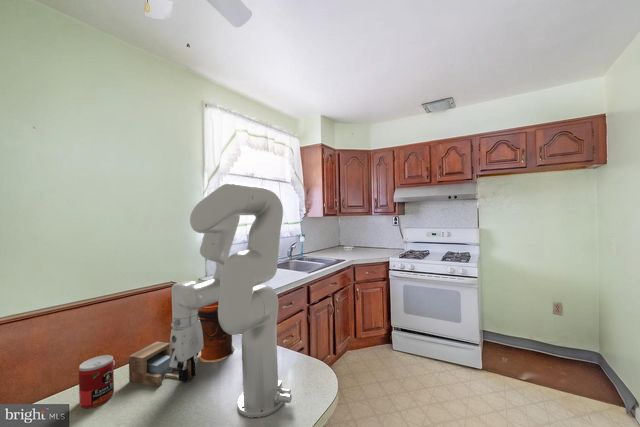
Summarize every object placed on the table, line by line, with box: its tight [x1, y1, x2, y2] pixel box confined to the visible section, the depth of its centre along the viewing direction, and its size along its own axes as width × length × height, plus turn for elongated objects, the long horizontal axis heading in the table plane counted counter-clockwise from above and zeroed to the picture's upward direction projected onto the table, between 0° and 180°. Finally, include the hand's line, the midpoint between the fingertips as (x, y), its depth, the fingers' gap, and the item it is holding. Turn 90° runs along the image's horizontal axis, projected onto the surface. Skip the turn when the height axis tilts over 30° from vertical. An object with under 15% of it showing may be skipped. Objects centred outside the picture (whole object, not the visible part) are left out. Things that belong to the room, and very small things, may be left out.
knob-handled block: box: [147, 355, 193, 382], centre depth 87 cm, size 16×6×6 cm, turn 74°
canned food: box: [78, 354, 115, 409], centre depth 77 cm, size 8×8×11 cm
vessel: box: [197, 302, 236, 363], centre depth 102 cm, size 14×14×20 cm
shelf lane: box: [128, 341, 182, 388], centre depth 88 cm, size 12×10×8 cm
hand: (187, 377), depth 85 cm, fingers closed on knob-handled block, 2 cm apart
